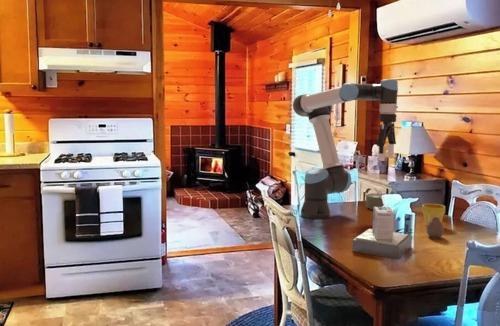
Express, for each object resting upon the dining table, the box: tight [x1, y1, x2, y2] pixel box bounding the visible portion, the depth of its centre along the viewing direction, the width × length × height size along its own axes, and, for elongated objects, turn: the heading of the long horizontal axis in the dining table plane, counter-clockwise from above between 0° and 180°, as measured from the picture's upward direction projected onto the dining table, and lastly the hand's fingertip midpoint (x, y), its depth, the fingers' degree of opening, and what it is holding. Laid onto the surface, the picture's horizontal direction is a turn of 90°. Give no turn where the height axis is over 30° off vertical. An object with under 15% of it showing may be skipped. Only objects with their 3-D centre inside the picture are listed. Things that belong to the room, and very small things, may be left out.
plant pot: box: [421, 203, 446, 227], centre depth 233 cm, size 10×10×10 cm
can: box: [365, 193, 385, 210], centre depth 272 cm, size 12×12×7 cm
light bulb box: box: [372, 206, 395, 240], centre depth 194 cm, size 11×7×11 cm, turn 174°
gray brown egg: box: [426, 217, 445, 239], centre depth 213 cm, size 7×7×9 cm
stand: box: [352, 228, 412, 260], centre depth 196 cm, size 18×18×5 cm
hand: (385, 159), depth 229 cm, fingers open, 13 cm apart
